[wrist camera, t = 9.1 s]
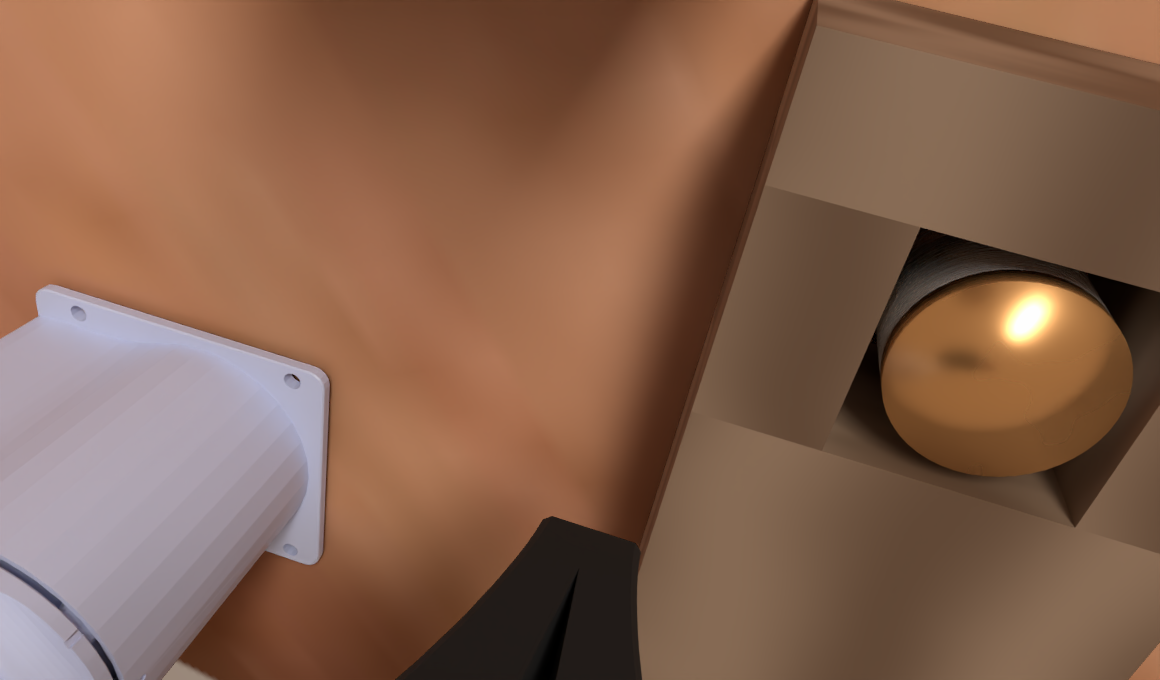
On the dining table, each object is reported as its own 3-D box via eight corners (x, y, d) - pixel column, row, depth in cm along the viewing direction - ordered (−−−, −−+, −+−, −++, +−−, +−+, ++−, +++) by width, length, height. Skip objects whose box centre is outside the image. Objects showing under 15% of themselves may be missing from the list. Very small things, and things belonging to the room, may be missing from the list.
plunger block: (577, 740, 31) (538, 881, 27) (819, -18, 17) (816, 25, 13) (852, 837, 30) (856, 1001, 26) (1345, 109, 16) (1530, 202, 12)
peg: (845, 327, 20) (849, 438, 16) (911, 168, 18) (934, 253, 14) (1017, 377, 20) (1062, 503, 16) (1106, 219, 18) (1183, 321, 14)
